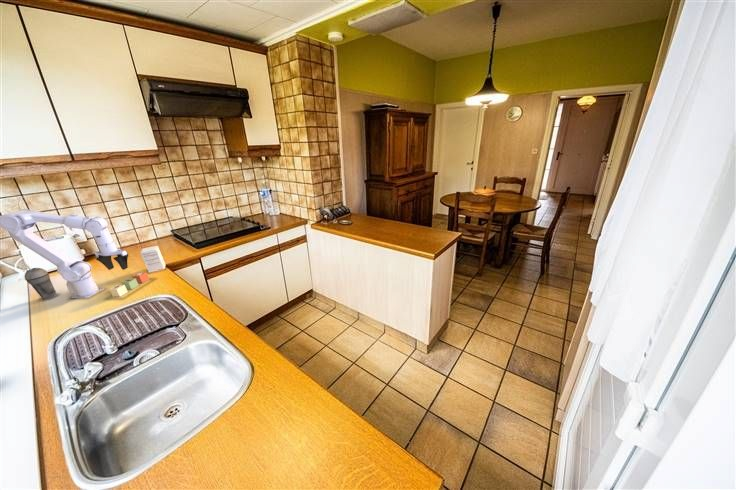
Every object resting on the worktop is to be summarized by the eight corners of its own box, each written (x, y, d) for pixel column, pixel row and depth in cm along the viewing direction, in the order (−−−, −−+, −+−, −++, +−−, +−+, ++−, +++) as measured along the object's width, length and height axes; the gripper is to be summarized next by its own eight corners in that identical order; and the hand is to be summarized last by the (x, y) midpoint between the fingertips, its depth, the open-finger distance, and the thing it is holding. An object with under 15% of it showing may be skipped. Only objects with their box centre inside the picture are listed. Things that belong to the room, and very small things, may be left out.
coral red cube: (135, 283, 135) (132, 276, 134) (142, 279, 139) (139, 272, 137) (142, 283, 135) (139, 276, 133) (149, 279, 139) (146, 272, 137)
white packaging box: (150, 268, 152) (142, 248, 147) (166, 264, 155) (158, 245, 150) (148, 273, 146) (139, 252, 141) (164, 269, 149) (156, 249, 144)
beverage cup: (63, 294, 129) (41, 257, 122) (42, 302, 123) (17, 264, 116) (57, 291, 132) (35, 255, 125) (36, 299, 126) (11, 262, 119)
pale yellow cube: (112, 296, 124) (108, 289, 123) (120, 291, 128) (117, 284, 126) (120, 296, 124) (116, 289, 122) (128, 291, 127) (124, 284, 126)
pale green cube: (124, 289, 130) (120, 282, 128) (131, 285, 133) (128, 278, 132) (131, 289, 129) (128, 282, 128) (138, 285, 133) (135, 278, 131)
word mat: (106, 298, 124) (105, 297, 124) (139, 279, 140) (139, 278, 140) (123, 298, 123) (122, 297, 123) (155, 278, 139) (154, 278, 139)
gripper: (127, 239, 127) (139, 264, 132) (100, 240, 128) (113, 265, 133) (113, 245, 120) (125, 271, 125) (85, 246, 122) (98, 272, 127)
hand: (118, 268), depth 129 cm, fingers open, 7 cm apart
